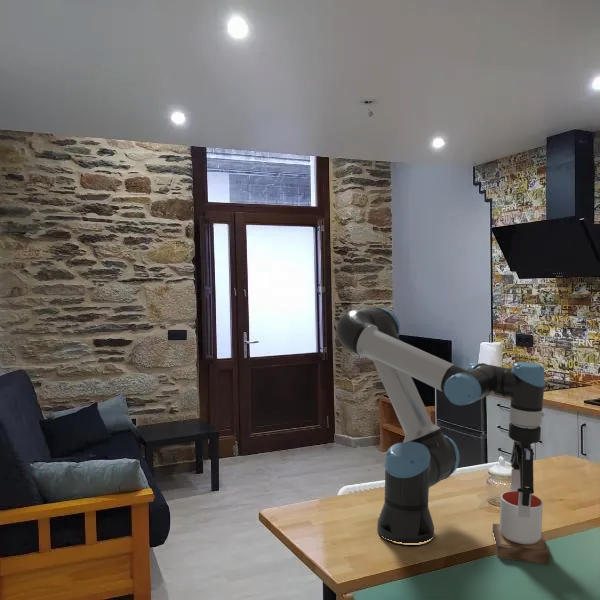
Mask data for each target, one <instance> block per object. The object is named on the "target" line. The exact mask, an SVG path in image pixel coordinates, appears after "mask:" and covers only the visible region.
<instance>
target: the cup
mask: <svg viewBox="0 0 600 600" xmlns="http://www.w3.org/2000/svg"><path fill="white" fill-rule="evenodd" d="M518 501H519V492H518V491H510V490H508V491H505V492H503V493H502V494H501V495H500V507H499V509H500V511H499V524H500V532H501V534H502V535H503V536H504V537H505V538H506V539H508V540H510V541H512V542H515V543H519V544H534V543H536V542H538V541H539V540H540V538H541V532H542V525H543V508H544V507H543V506H544V505H543V504H544V502H543V501H542V499H541V498H540V497H538V496H536V495H535V494H531V507H530V518H525V517H518Z"/></svg>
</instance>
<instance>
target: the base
mask: <svg viewBox="0 0 600 600" xmlns="http://www.w3.org/2000/svg"><path fill="white" fill-rule="evenodd" d="M492 532H493V533H494V537H495V541H496V548H495V553H496V557H497V558H498V559H507V560H515V561H522V562H530V563H537V564H544V565H546V564H547V565H550V553H551V552H550V550H549V547H548V545H547V543H546V542H547V541H546V539H545V537H544V535H543V532H542V531H541V538H540V540H539V541H538V542H536V543H534V544H519V543H515V542H512V541H510V540H508V539H506V538H505V537H504V536H503V535H502V534H501V532H500V523H492Z"/></svg>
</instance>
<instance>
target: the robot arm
mask: <svg viewBox="0 0 600 600" xmlns="http://www.w3.org/2000/svg"><path fill="white" fill-rule="evenodd" d="M400 330H401V325H400V321H399V319H398V317H397V316H396V314H395V313H394V312H393V311H391V310H389V309H387V308H384V307H370V308H364V309H363V308H362V309H354V310H353V309H352V310H350V311H347V312H345V313H344V314H343V315H342V316H341V317H340V318H339V319H338V322H337V323H336V332H335V334H336V338H337V339H338V341H339V343H340V344H341V345H342V346H343V347H344V348H346V350H348V351H350V352H352V353H353V354H356V355H358V356H359V357H362V358H363V357H365V358H366V359H369V360H372V362H373V364H374V367H375V369H376V370H377V374H378V376H379V378H380V380H381V383H382V385H383V387H384V389H385V392H386V394H387V395H388V396H387V397H388V399H389V401H390V404H391V405H392V407H393V410H394V412H395V415H396V416H397V419H398V422H399V423H400V426H401V429H402V430H403V433H404V438H403V439H404V440H403V441H402V442H397V443H395V444H392V445H391V446H390V447H389V448H388V449H387V451H386V454H385V461H384V469H385V472H384V475H385V476H384V503H383V506H382V508H381V510H380V514H379V517H378V519H377V529H376V530H377V533H378V534H380V535H381V536H383V537H384V538H386V539H389V540H392V541H396V542H402V543H419V542H424V541H427V540H429V539H431V538H432V537H433V535H434V536H435V525H434V522H433V518H432V515H431V511H430V508H429V496H430V494H429V492H430V488H431V487H434V486H435V485H436V484H438V483H439V482H441V481H444V480H446V479H448V478H449V477H450V476H451V475H452V474H454V473H455V471H456V470H457V469H458V467H459V463H460V452H459V449H458V445H457V444H456V443H455V442H454V440H453V439H452V438H450V437H448V436H447V435H444V433H443V431H442V429H441V427H440V426H438V425H436V424H434V423H433V422H432V419H431V417H430V414H429V413H428V411H427V408H426V406H425V404H424V402H423V400H422V398H421V396H420V393H419V391H418V388H417V386H416V384H415V382H414V380H413V378H414V379H416V380H418V381H419V382H422V383H424V384H426V385H428V386H430V387H432V388H434V389H436V390H438V391H440V392H443V393H444V395H445V397H446V398H447V399H448V400H449V401H448V402H450V403H452V404H454V405H457V406H465V405H466V406H467V405H470V404H473V403H475V402H477V401H479V400H482V399H484V398H486V397H488V396H489V397H490V396H491V395H493V396H498V397H503V398H510V405H509V423H508V437H509V438H510V439H511V440H512V441H513V447H512V451H511V456H510V457H511V458H510V463H511V466H510V467H511V472H510V473H511V474H510V484H509V485H510V487H509V489H510V490H509V491H518V492H519V501H518V517H525V518H530V507H531V494H532V495H534V493H535V489H534V455H535V453H534V448H532V445H533V444H538V443H539V442H540V441H541V434H542V433H541V432H542V427H541V426H542V417H544V416H545V413H544V412H543V404H544V394H545V393H544V392H545V386H546V381H545V368H544V367H543V366H542V365H541V364H539V363H534V362H526V361H517V362H515V363H513V365H512V367H511V368H509V367H503V366H497V365H492V364H488V363H484V362H482V363H480V362H472V363H470V364H469V365H468V366H467V367H466V369H465V368H462V367H461V366H458V365H455V364H453V363H451V362H449V361H447V360H445V359H443V358H440V357H438V356H436V355H433V354H431V353H429V352H426V351H424V350H422V349H420V348H418V347H415V346H414V345H412V344H409V343H406V342H404V341H402V340H401V339H400V337H399V336H400V334H401V333H400ZM380 535H379V536H380ZM381 536H380V537H381ZM384 538H383V539H384Z"/></svg>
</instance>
